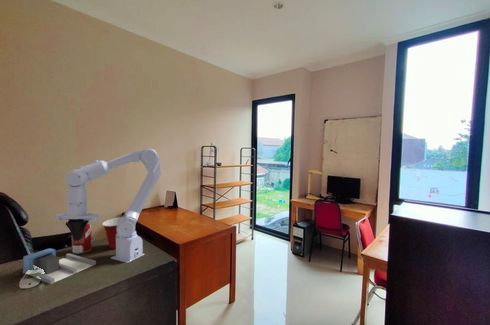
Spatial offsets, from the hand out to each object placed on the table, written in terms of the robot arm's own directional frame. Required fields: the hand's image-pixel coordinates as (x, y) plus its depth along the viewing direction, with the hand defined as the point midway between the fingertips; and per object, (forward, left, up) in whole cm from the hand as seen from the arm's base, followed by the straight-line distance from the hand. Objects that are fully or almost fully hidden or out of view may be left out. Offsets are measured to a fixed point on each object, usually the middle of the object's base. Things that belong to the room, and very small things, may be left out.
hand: (77, 239), depth 83 cm
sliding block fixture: (+2, +5, -9) cm, 11 cm away
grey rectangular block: (+6, +7, -9) cm, 13 cm away
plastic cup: (+2, -17, -10) cm, 20 cm away
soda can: (+11, -8, -10) cm, 17 cm away
